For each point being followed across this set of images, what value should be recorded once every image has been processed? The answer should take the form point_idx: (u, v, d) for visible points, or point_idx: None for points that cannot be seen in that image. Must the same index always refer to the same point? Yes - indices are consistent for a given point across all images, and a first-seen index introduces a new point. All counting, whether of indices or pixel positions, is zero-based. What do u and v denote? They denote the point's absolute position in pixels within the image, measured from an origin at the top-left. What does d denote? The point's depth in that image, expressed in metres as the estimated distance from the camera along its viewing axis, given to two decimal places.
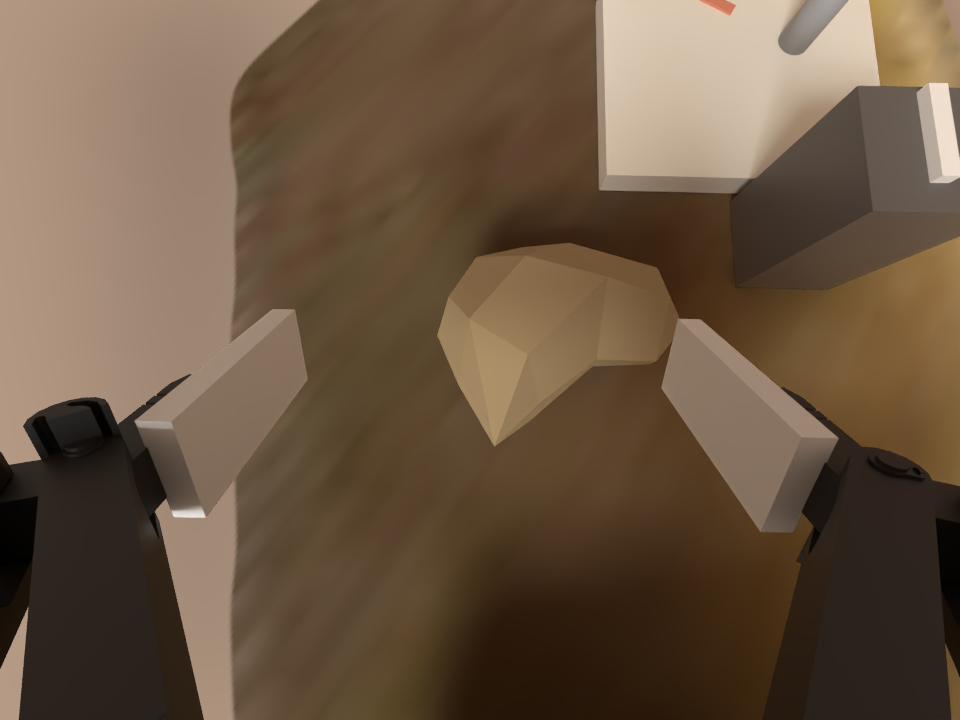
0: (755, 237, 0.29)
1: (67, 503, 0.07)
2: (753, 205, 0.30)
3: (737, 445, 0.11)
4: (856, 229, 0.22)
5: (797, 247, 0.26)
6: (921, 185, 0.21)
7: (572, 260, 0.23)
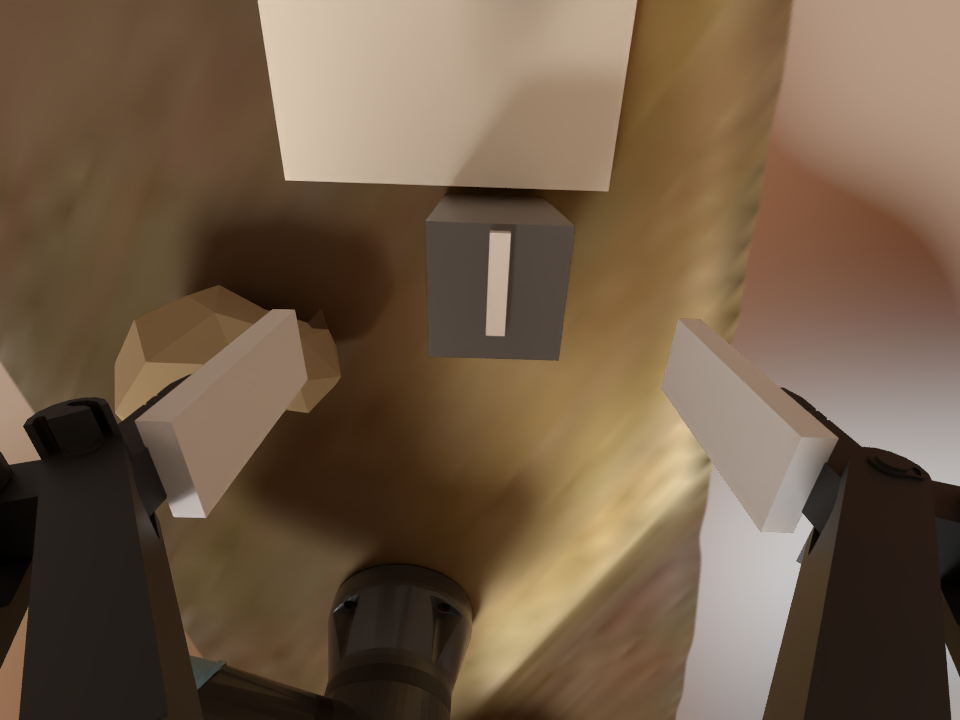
0: None
1: (67, 503, 0.07)
2: None
3: (737, 445, 0.11)
4: None
5: None
6: (477, 333, 0.22)
7: (204, 349, 0.26)
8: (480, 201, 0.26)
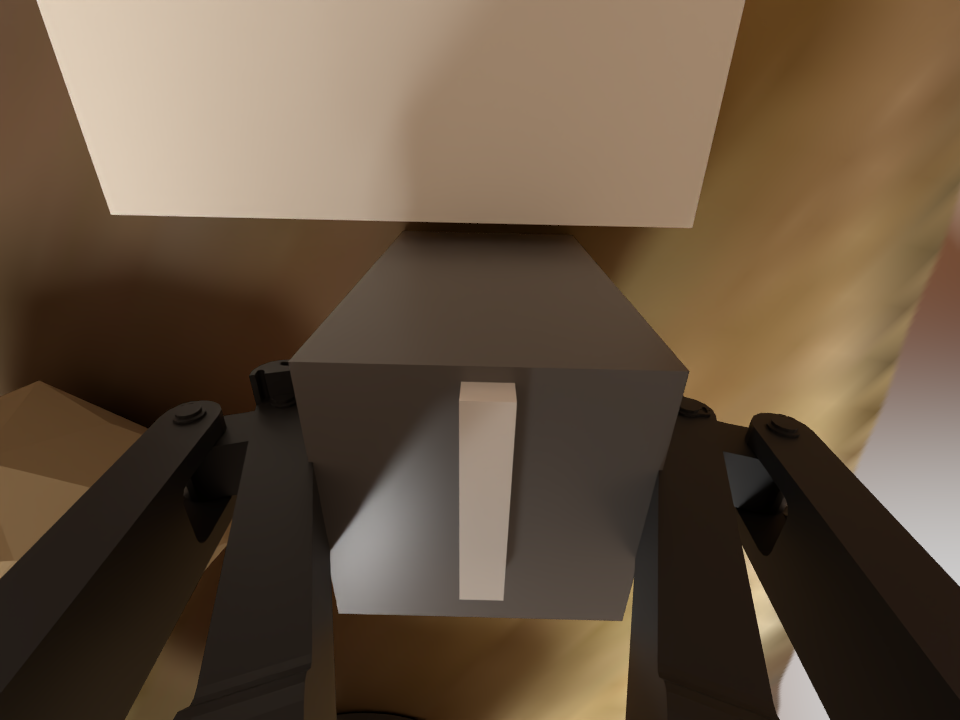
0: None
1: (267, 446, 0.09)
2: None
3: None
4: None
5: None
6: (442, 577, 0.10)
7: None
8: (459, 252, 0.14)
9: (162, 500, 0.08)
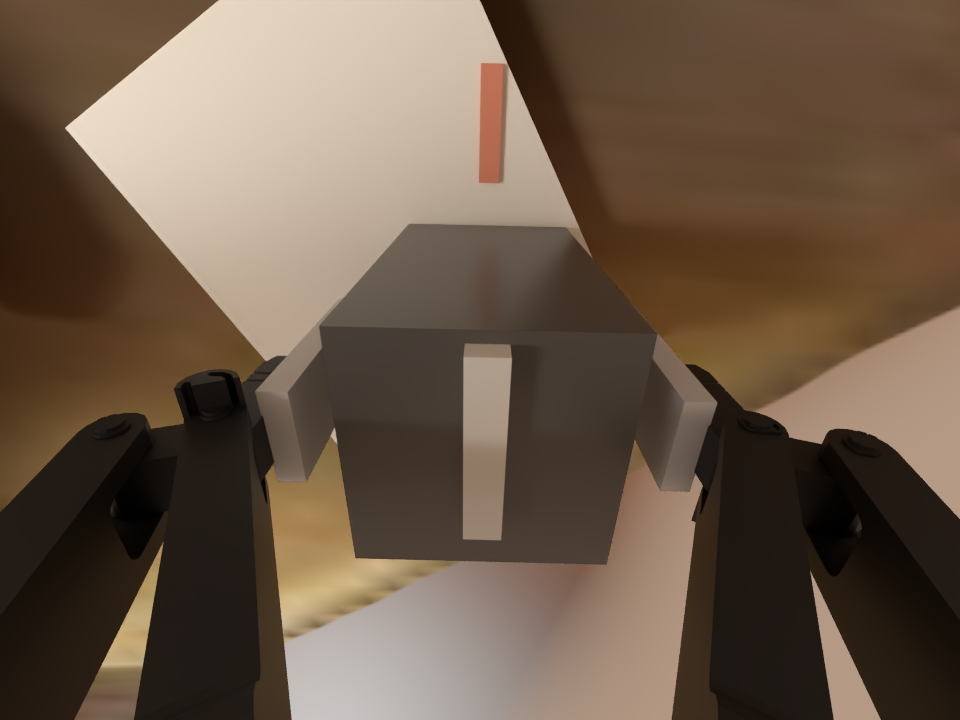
0: None
1: (199, 461, 0.08)
2: None
3: (647, 415, 0.12)
4: None
5: None
6: (447, 523, 0.11)
7: None
8: (461, 242, 0.16)
9: (87, 517, 0.07)
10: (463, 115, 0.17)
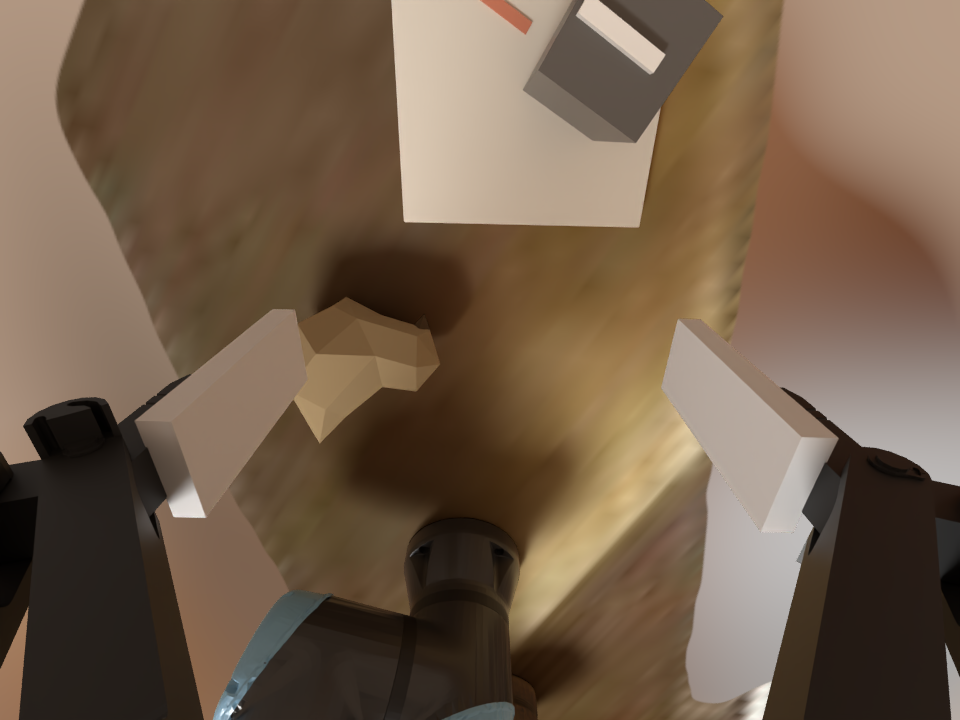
0: (571, 120, 0.32)
1: (67, 503, 0.07)
2: (545, 101, 0.31)
3: (737, 445, 0.11)
4: None
5: (609, 139, 0.29)
6: (646, 84, 0.23)
7: (352, 345, 0.36)
8: None
9: None
10: (493, 23, 0.31)
